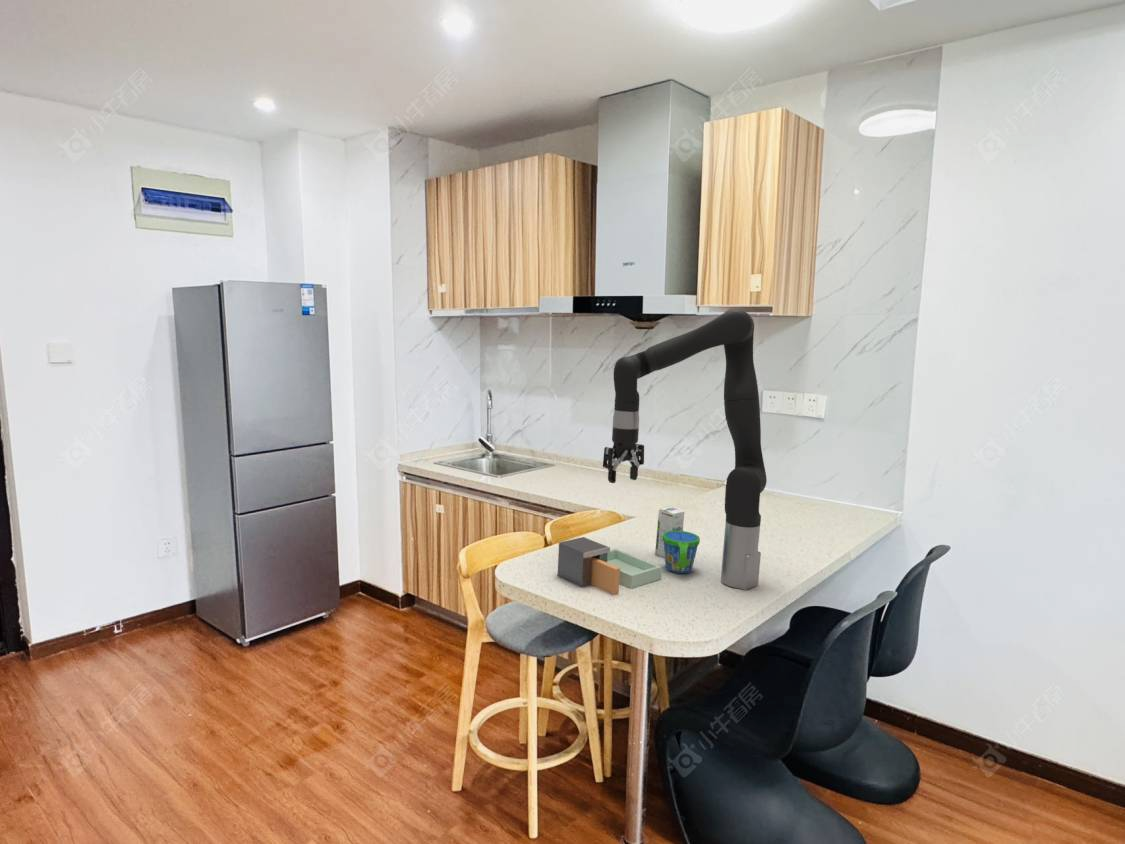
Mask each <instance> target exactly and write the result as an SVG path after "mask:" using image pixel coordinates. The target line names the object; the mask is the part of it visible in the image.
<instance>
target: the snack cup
mask: <svg viewBox="0 0 1125 844" xmlns="http://www.w3.org/2000/svg"><path fill="white" fill-rule="evenodd" d="M700 540H701V538H700V536H699V535H697V534H695V533H693V532H690V531H685V530H683V531H667V532H665V533H664V534H663V541H664V552H665V557H664V562H665V563H664V564H665V568H666V569H667V570H668V571H669V572H672V573H675V574H680V575H681V574H688V573H691V572H692V570H693V567H694V563H695V559H696V555H697V551H698V546H699V545H700V542H701V541H700Z"/></svg>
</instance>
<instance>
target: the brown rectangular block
mask: <svg viewBox="0 0 1125 844" xmlns="http://www.w3.org/2000/svg"><path fill="white" fill-rule="evenodd" d="M619 580H620V568H619V567H616V566H614V565H612V564H609V563H607V562H604V561H602V560H600V559H597V558H595V557H592V558H591V577H590V585H592V586H594V587H595V588H599V589H600V590H603V591H605V592H607V593H610V594H612V595H614V596H615V595H619V593H620V583H619Z"/></svg>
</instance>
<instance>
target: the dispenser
mask: <svg viewBox="0 0 1125 844" xmlns="http://www.w3.org/2000/svg"><path fill="white" fill-rule="evenodd" d="M610 550H611V547H610V546H607V545H605V544H602V543H599V542H597V541H594V540H592V539H590V538H587V537H585V536H582V537H578V538H577V537H576V538H574V539H569V540H564V541H560V542H558V558H557V559H558V560H557V576H558V577H559V578H561V579H563V580H566V581H568V582H570V583H572V584H574V585H576V586H578V587H580V588H584V587H588V586H591V584H590V577H591V558H592V557H595V558H597V559H600V560H602V561H604V562H607V557H608V552H610Z"/></svg>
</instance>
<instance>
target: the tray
mask: <svg viewBox="0 0 1125 844" xmlns="http://www.w3.org/2000/svg"><path fill="white" fill-rule="evenodd" d="M607 563H609V564H612V565H614V566H616V567H619V568H620V580H619V585H622V586H624V587H627V588H629V589H634V588H638V587H640V586H644V585H647V584H650V583H652V582H657V581H658V580H662V570H663V567H662V566H661V565H658V564H656V563H653V562H651V561H647V560H645V559H643V558H641V557H638V556H636V555H633V554H631V553H628V552H626V551H622V550H620V549H617V548H614V549H610V552H608V557H607Z"/></svg>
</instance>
